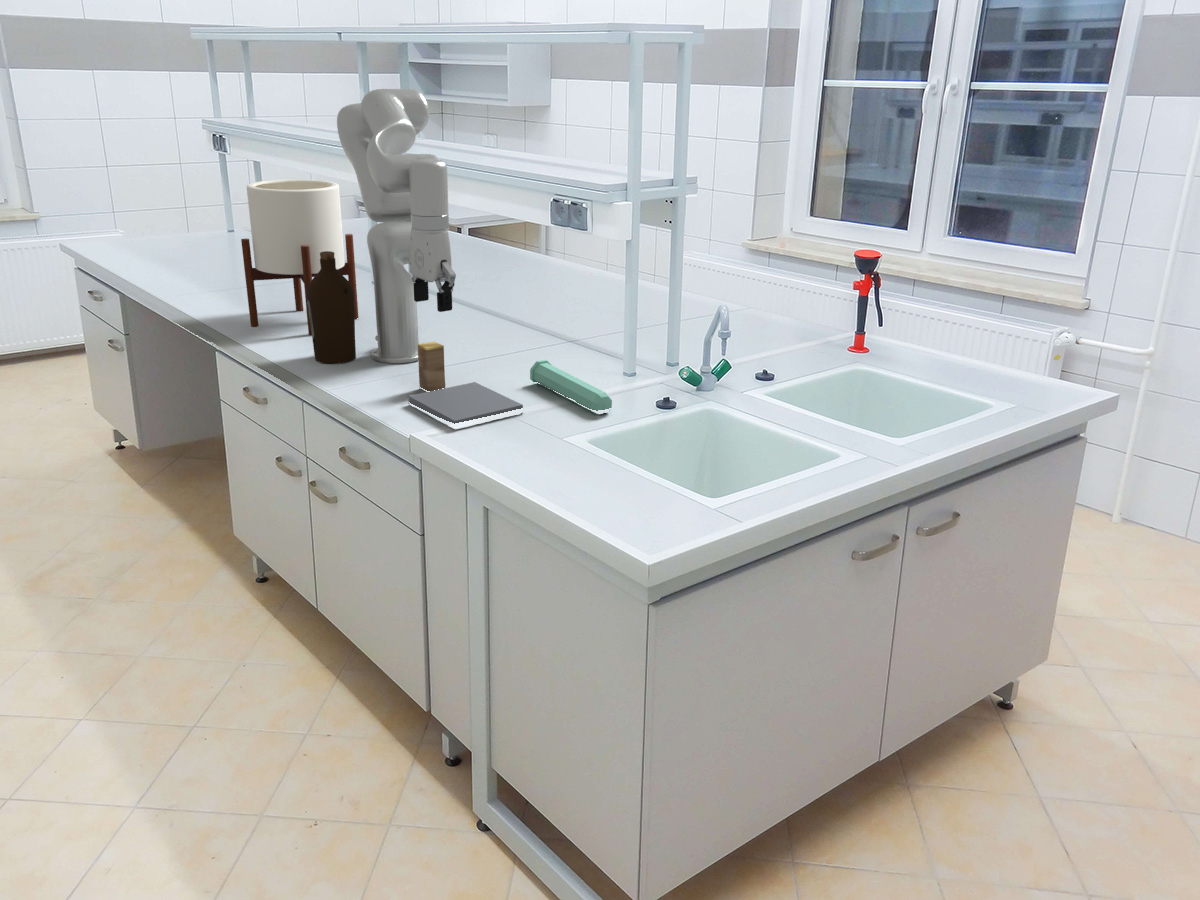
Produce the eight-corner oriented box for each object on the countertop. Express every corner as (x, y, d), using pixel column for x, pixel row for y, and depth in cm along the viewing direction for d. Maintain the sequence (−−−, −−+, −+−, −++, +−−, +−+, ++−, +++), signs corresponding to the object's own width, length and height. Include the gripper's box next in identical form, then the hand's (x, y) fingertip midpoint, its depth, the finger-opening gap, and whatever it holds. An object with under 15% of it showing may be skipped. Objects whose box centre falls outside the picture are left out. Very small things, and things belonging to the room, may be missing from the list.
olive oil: (363, 352, 235) (356, 248, 226) (352, 365, 226) (344, 257, 216) (319, 351, 235) (310, 247, 226) (306, 364, 226) (296, 256, 216)
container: (613, 387, 197) (547, 354, 216) (590, 402, 195) (525, 367, 214) (620, 410, 201) (555, 376, 219) (598, 425, 198) (534, 389, 217)
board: (409, 405, 202) (408, 395, 201) (474, 390, 211) (474, 382, 210) (454, 430, 189) (454, 420, 188) (522, 414, 198) (522, 404, 198)
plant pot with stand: (365, 317, 266) (356, 182, 253) (314, 337, 247) (301, 192, 233) (298, 308, 274) (285, 177, 260) (243, 327, 254) (226, 186, 241)
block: (419, 388, 211) (417, 344, 208) (435, 385, 214) (434, 341, 210) (429, 393, 209) (427, 348, 205) (445, 390, 211) (443, 345, 207)
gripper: (393, 218, 201) (397, 299, 208) (435, 231, 189) (438, 317, 195) (425, 215, 206) (428, 295, 212) (468, 228, 193) (470, 312, 200)
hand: (433, 305), depth 204 cm, fingers open, 9 cm apart
